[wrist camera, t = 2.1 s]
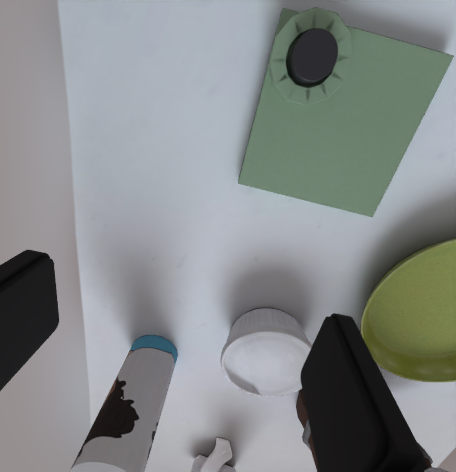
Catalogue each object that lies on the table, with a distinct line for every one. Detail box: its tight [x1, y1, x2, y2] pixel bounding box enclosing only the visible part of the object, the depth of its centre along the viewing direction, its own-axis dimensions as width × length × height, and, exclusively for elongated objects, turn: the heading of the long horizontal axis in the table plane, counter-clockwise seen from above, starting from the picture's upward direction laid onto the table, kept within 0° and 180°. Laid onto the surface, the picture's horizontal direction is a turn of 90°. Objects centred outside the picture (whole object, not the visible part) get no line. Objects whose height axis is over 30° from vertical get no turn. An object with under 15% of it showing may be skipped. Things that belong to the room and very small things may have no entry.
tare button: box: [289, 28, 338, 84], centre depth 20 cm, size 3×3×2 cm
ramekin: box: [221, 308, 312, 397], centre depth 33 cm, size 11×11×5 cm
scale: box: [238, 7, 454, 217], centre depth 23 cm, size 14×14×3 cm
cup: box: [70, 335, 178, 472], centre depth 32 cm, size 7×7×15 cm
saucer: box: [361, 238, 456, 382], centre depth 30 cm, size 21×21×3 cm
